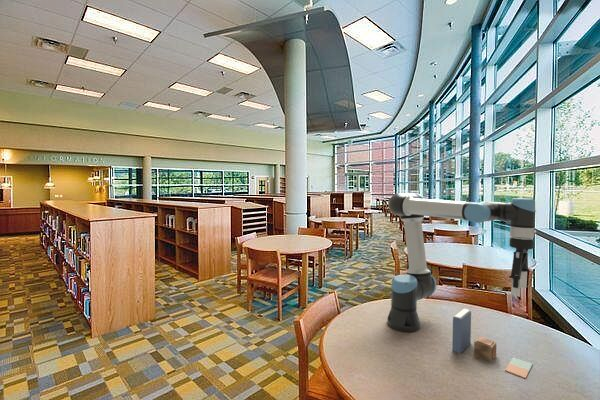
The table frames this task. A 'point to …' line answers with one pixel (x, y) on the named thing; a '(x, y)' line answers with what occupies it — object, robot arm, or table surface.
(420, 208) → the robot arm
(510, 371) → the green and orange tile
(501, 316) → the table surface
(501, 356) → the table surface
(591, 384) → the table surface
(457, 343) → the navy book
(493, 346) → the letter block
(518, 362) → the tile sage
